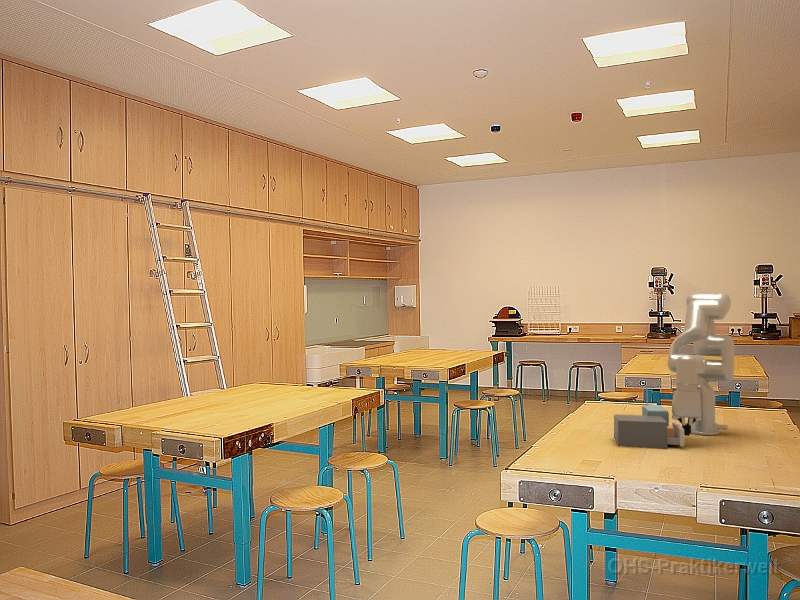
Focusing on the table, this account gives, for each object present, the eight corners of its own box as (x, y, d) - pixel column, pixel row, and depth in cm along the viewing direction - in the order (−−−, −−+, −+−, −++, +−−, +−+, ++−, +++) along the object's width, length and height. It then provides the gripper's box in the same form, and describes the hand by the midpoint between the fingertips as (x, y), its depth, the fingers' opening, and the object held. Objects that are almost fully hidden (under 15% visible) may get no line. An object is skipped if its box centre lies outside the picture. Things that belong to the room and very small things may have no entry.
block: (671, 438, 266) (671, 426, 267) (674, 441, 262) (674, 428, 262) (658, 438, 268) (658, 425, 268) (660, 440, 263) (660, 427, 263)
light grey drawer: (676, 438, 271) (676, 422, 271) (684, 446, 256) (684, 429, 256) (631, 436, 275) (631, 420, 275) (637, 444, 259) (637, 427, 259)
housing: (660, 440, 272) (660, 416, 272) (667, 448, 257) (667, 422, 257) (613, 438, 276) (613, 414, 276) (618, 446, 261) (618, 420, 261)
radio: (671, 440, 274) (671, 391, 274) (647, 439, 275) (647, 390, 276) (664, 433, 289) (664, 386, 289) (641, 432, 291) (642, 386, 291)
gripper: (704, 387, 265) (704, 434, 265) (664, 386, 268) (664, 432, 268) (709, 389, 258) (709, 437, 258) (668, 388, 261) (668, 436, 261)
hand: (686, 435), depth 263 cm, fingers closed
